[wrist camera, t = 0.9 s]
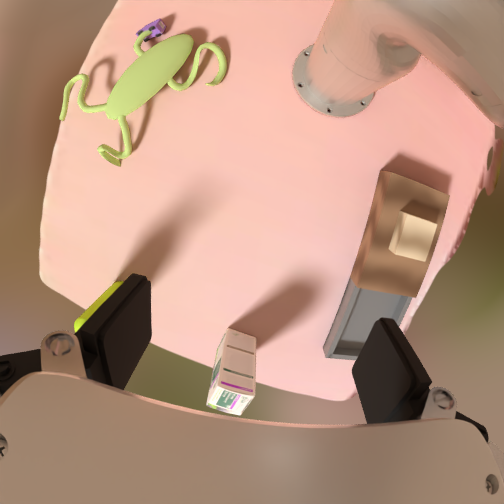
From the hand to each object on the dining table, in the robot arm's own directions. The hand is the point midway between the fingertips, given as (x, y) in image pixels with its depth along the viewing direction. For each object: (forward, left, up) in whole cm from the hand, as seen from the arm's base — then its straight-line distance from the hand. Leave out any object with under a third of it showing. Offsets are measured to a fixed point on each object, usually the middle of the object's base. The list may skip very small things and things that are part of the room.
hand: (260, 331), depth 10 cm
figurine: (-15, -23, -32) cm, 42 cm away
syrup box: (+26, 0, -31) cm, 40 cm away
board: (0, +22, -31) cm, 38 cm away
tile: (-1, +23, -27) cm, 35 cm away
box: (+16, +23, -31) cm, 42 cm away
